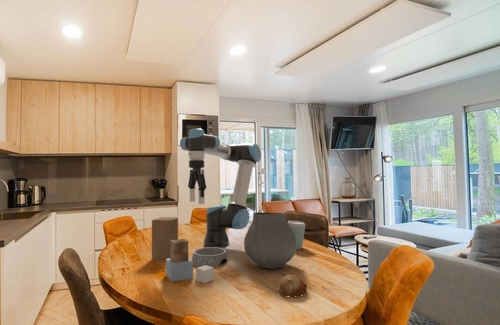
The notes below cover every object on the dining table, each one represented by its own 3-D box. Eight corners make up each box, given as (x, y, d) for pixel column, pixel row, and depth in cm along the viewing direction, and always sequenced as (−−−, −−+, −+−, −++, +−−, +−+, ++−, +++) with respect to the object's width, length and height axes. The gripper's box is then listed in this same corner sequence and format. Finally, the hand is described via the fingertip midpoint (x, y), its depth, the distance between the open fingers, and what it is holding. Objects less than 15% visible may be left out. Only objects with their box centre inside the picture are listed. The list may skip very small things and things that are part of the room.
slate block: (186, 271, 137) (186, 255, 137) (193, 278, 129) (193, 261, 129) (166, 275, 132) (166, 258, 133) (171, 281, 125) (171, 264, 125)
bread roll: (281, 297, 117) (272, 278, 117) (305, 284, 118) (296, 265, 118) (286, 308, 108) (276, 288, 107) (312, 294, 109) (302, 274, 108)
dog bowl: (234, 259, 156) (234, 248, 156) (211, 269, 141) (211, 257, 141) (208, 255, 165) (208, 245, 165) (183, 264, 150) (183, 252, 150)
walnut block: (184, 257, 135) (184, 238, 135) (188, 260, 130) (188, 241, 130) (170, 259, 132) (170, 240, 132) (174, 262, 127) (174, 243, 127)
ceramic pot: (301, 261, 152) (300, 209, 152) (291, 277, 129) (290, 216, 129) (253, 256, 160) (253, 208, 160) (236, 271, 137) (236, 214, 137)
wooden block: (169, 260, 155) (169, 220, 155) (151, 259, 157) (151, 219, 157) (178, 255, 164) (178, 217, 165) (160, 254, 166) (160, 216, 167)
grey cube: (205, 277, 130) (205, 265, 130) (213, 279, 127) (213, 267, 127) (196, 280, 126) (196, 268, 127) (204, 283, 123) (204, 270, 123)
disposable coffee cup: (305, 245, 182) (304, 220, 183) (306, 250, 172) (306, 223, 172) (286, 245, 183) (286, 220, 184) (287, 250, 173) (286, 223, 173)
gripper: (182, 160, 164) (182, 201, 163) (197, 158, 142) (197, 205, 141) (195, 160, 167) (195, 200, 167) (213, 159, 145) (213, 204, 145)
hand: (196, 202), depth 154 cm, fingers open, 13 cm apart
